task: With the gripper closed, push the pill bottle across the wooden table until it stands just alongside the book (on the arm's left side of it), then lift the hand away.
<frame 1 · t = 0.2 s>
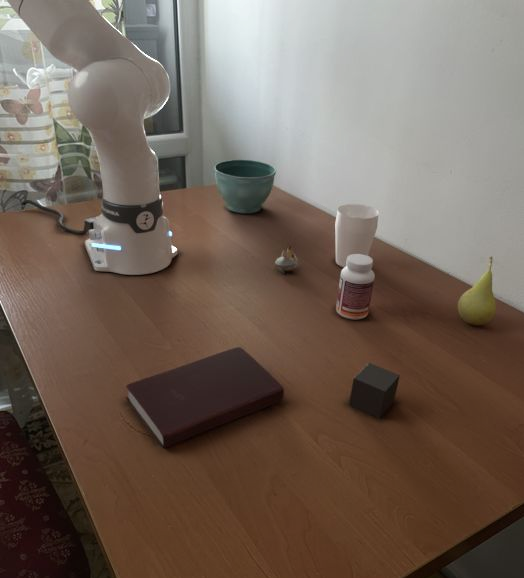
flower pot: (243, 208, 149), on the table
book: (205, 402, 80), on the table
cup: (350, 263, 123), on the table
charcoal block: (371, 403, 81), on the table
pill bottle: (351, 313, 104), on the table
fruit: (471, 322, 104), on the table
figurine: (286, 270, 118), on the table
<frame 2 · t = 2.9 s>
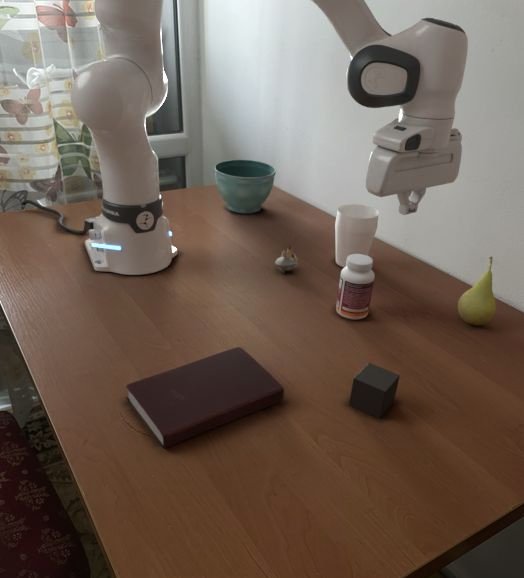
hand: (407, 212, 99), 18 cm above the table, tool pointing down, fingers closed
nothing on the table moved.
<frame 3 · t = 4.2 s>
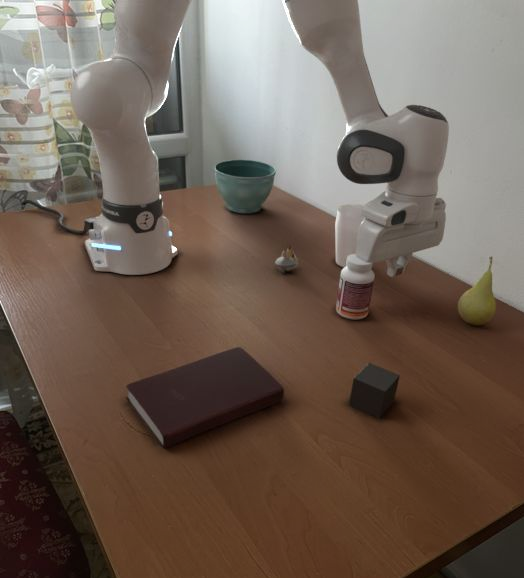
hand: (395, 274, 106), 6 cm above the table, tool pointing down, fingers closed
nothing on the table moved.
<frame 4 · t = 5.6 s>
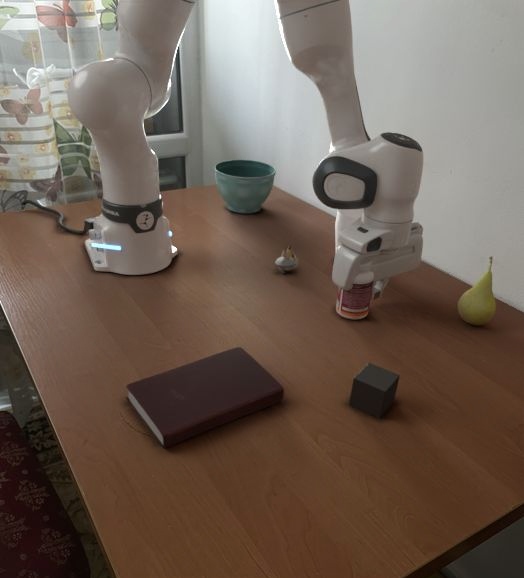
hand: (372, 298, 106), 2 cm above the table, tool pointing down, fingers closed
pill bottle: (351, 313, 104), on the table, touching gripper
everything else where it was.
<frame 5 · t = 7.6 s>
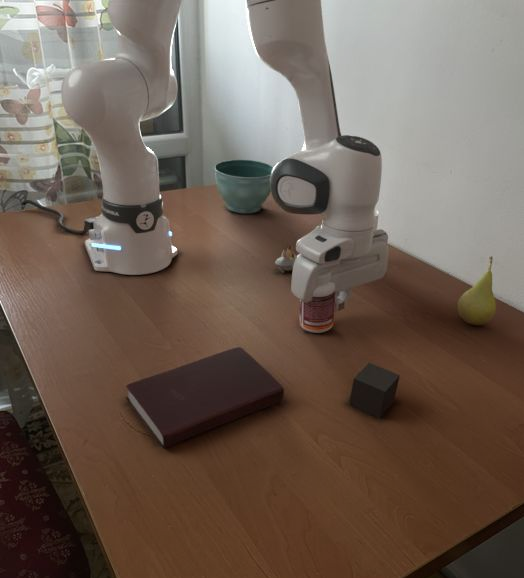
hand: (337, 309, 101), 2 cm above the table, tool pointing down, fingers closed
pill bottle: (316, 325, 99), on the table, touching gripper
everything else where it was.
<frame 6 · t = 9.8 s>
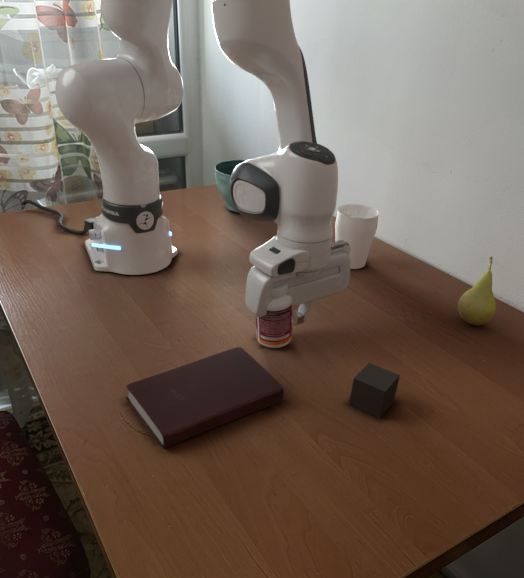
hand: (297, 323, 96), 2 cm above the table, tool pointing down, fingers closed
pill bottle: (274, 339, 95), on the table, touching gripper
everything else where it was.
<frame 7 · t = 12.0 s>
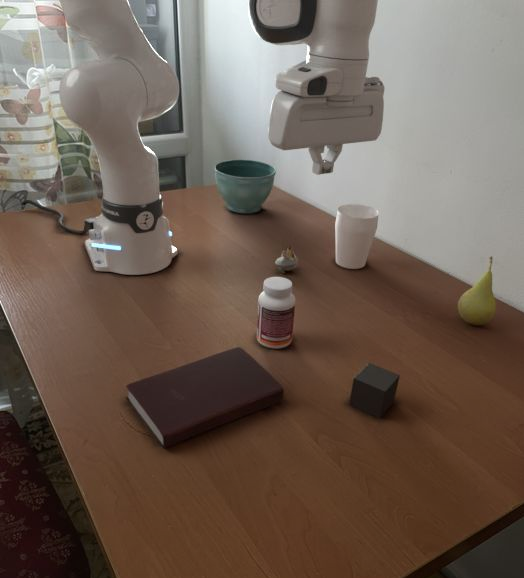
hand: (322, 173, 88), 26 cm above the table, tool pointing down, fingers closed
pill bottle: (274, 341, 95), on the table
everything else where it was.
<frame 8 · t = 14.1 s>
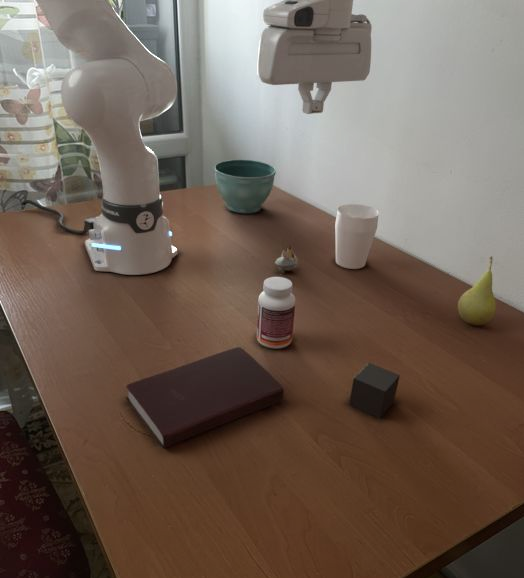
hand: (312, 112, 89), 34 cm above the table, tool pointing down, fingers closed
nothing on the table moved.
at the end: pill bottle inside the target area on the table beside the book (3.5 cm from its centre), on the table; pill bottle tilted 0°; book moved 0.2 cm from its start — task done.
